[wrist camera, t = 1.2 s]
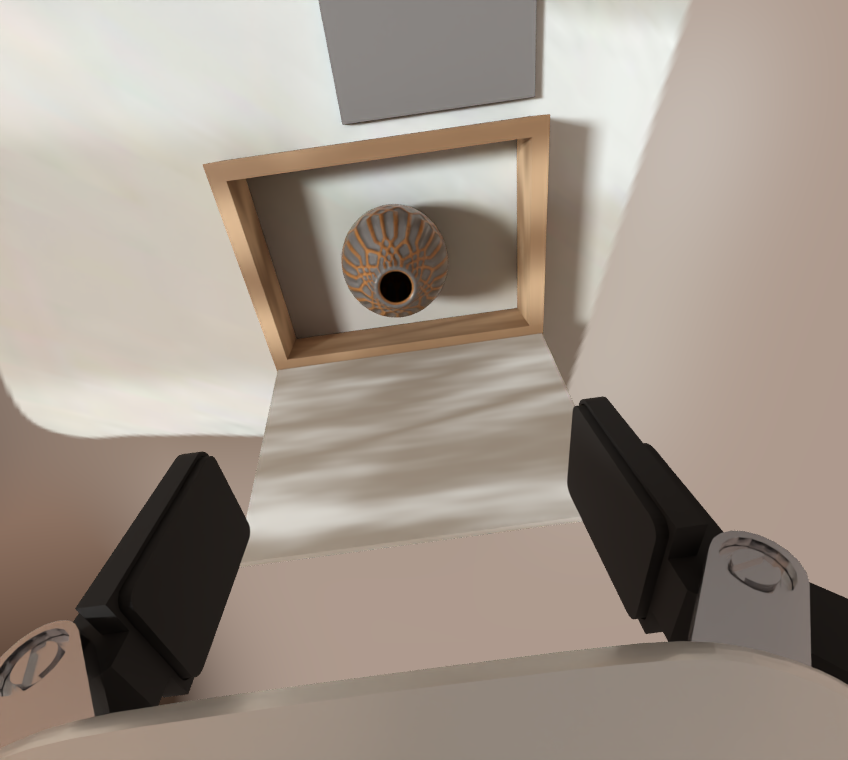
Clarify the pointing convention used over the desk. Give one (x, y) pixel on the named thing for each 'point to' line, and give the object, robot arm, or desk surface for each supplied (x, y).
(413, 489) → the frame
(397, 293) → the vase
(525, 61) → the mat
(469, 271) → the desk surface
